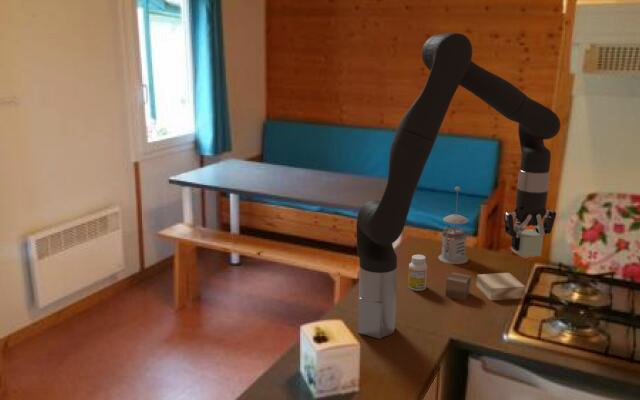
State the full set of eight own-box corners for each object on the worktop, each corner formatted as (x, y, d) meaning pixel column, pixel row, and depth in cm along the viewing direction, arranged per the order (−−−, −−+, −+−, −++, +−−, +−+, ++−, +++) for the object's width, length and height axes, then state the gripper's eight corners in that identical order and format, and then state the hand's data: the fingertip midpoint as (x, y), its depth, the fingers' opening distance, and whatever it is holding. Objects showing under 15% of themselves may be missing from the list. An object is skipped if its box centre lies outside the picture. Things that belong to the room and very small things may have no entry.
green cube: (521, 257, 148) (523, 237, 147) (511, 250, 153) (513, 230, 152) (541, 255, 149) (543, 236, 148) (529, 248, 154) (531, 229, 153)
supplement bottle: (413, 282, 173) (415, 252, 170) (429, 286, 170) (431, 256, 167) (404, 287, 169) (405, 257, 166) (420, 292, 166) (422, 261, 163)
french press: (473, 258, 192) (478, 186, 185) (455, 268, 183) (460, 193, 177) (447, 251, 198) (452, 181, 191) (429, 260, 190) (433, 187, 183)
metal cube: (464, 300, 161) (465, 282, 159) (445, 296, 163) (446, 278, 162) (469, 293, 165) (471, 276, 164) (451, 289, 168) (452, 272, 166)
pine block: (490, 301, 161) (491, 288, 160) (476, 286, 170) (477, 274, 169) (523, 299, 162) (525, 286, 161) (507, 284, 172) (509, 272, 171)
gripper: (514, 192, 142) (508, 256, 146) (566, 189, 144) (559, 252, 149) (499, 185, 149) (494, 246, 153) (549, 182, 151) (543, 242, 156)
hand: (526, 248), depth 151 cm, fingers closed on green cube, 5 cm apart
